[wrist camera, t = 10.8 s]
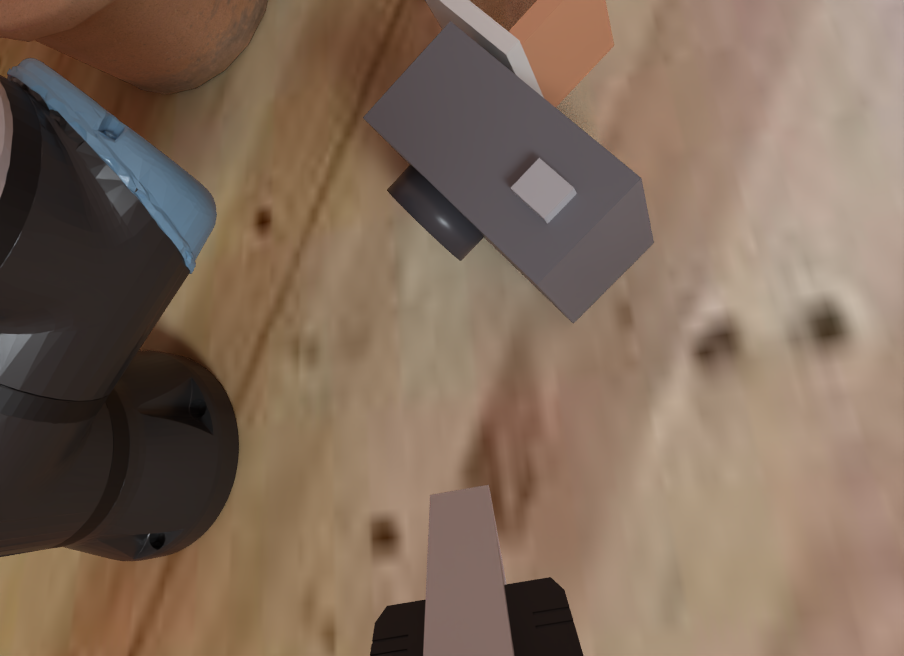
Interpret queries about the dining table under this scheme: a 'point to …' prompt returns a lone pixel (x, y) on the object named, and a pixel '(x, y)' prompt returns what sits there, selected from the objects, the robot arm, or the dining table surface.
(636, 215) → the camera housing
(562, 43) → the side door
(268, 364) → the dining table surface
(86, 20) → the pottery
